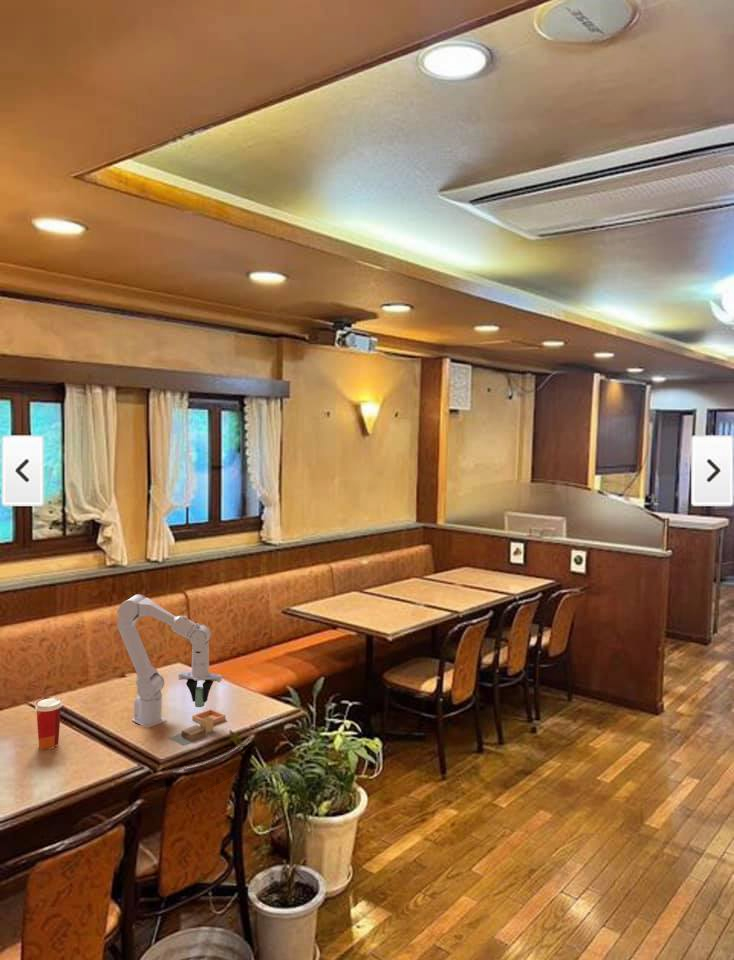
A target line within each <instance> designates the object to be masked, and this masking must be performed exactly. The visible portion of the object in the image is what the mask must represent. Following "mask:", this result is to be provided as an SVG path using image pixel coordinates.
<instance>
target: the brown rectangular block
mask: <svg viewBox="0 0 734 960" xmlns="http://www.w3.org/2000/svg"><path fill="white" fill-rule="evenodd" d="M180 732H181V733H180V734H181V736H182V737H184V738H186V739H188V740H190V741H192V740H195V739H197V738H200V737H202V736H205V735H206V729H204V728H202V727H200V725H198V724H195V725H193V726H190V727H188V728H185V729H182V730H181V731H180Z"/></svg>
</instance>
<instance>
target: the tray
mask: <svg viewBox="0 0 734 960" xmlns="http://www.w3.org/2000/svg"><path fill="white" fill-rule="evenodd" d="M191 717H192V722H195V723H197V724H199V725H200V719H202V718H205V717H210V718H212V719H213V725H215V724H218V723H221V722H223V721H225V720H226V714H223V713H222V712H219V711H217V710H215V709H212V708H210V709H207V710H204V711H202V712H199V713H195V714H193V715H192V716H191Z"/></svg>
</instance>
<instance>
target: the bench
mask: <svg viewBox="0 0 734 960" xmlns="http://www.w3.org/2000/svg"><path fill="white" fill-rule="evenodd" d="M199 726H200V727H202V728H204V729H206V735H205V736H202V737H200V738H197V739H195V740H192V741H190V740H188V739H186V738H184V737H182V736H181V733H178V734H176V735H173V736H170V737H168V739H169V740H171V741H173V742H175V743H177V744H179V745H181V746H186V745H189V744H192V743H194V742H196V741H199V740H201V739H204V738H207V737H209V736H211V735H214V734H216V733H218V732H217V731H215V730H214V724H213V719H212V718H210V717H205V718H202V719H200V724H199Z"/></svg>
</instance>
